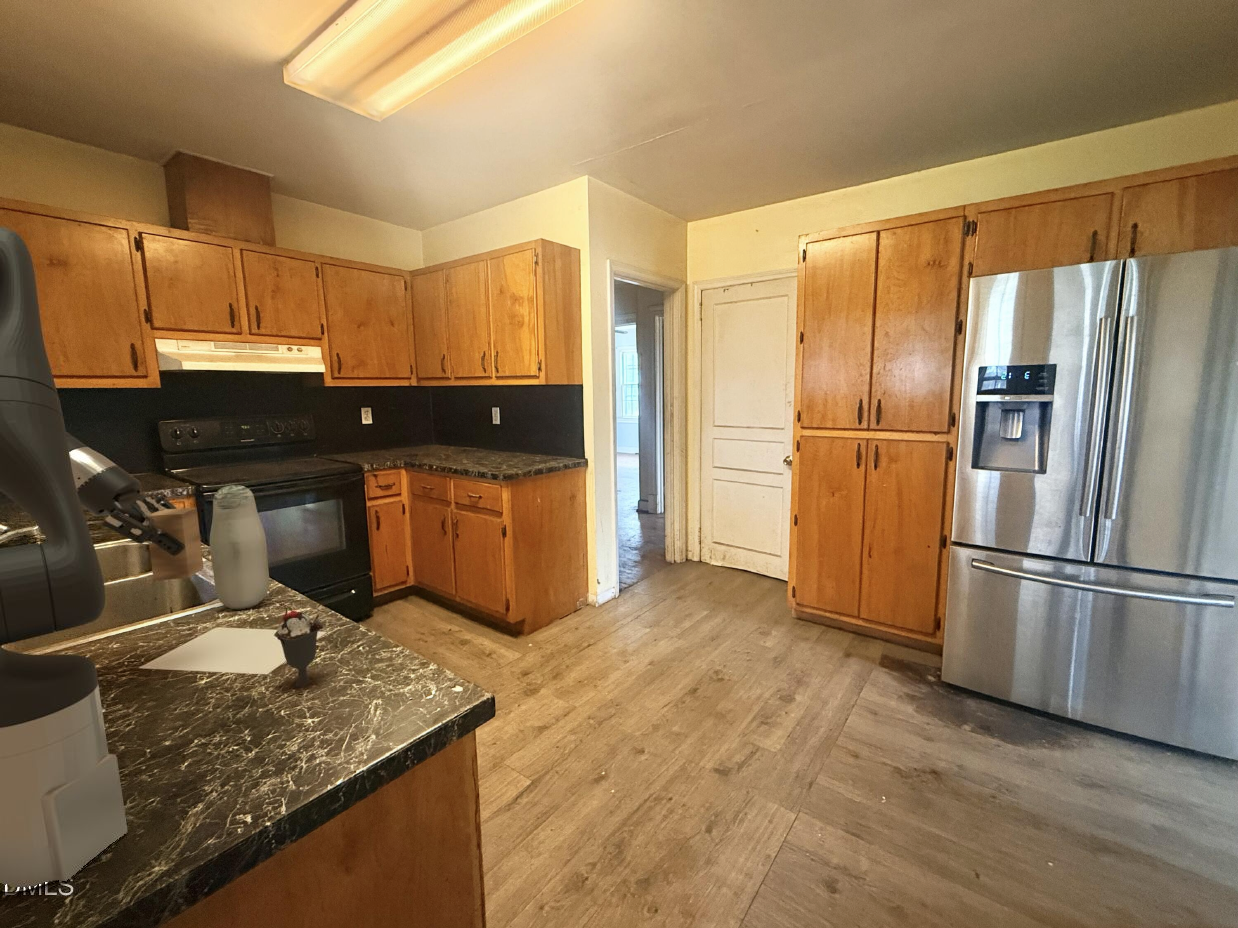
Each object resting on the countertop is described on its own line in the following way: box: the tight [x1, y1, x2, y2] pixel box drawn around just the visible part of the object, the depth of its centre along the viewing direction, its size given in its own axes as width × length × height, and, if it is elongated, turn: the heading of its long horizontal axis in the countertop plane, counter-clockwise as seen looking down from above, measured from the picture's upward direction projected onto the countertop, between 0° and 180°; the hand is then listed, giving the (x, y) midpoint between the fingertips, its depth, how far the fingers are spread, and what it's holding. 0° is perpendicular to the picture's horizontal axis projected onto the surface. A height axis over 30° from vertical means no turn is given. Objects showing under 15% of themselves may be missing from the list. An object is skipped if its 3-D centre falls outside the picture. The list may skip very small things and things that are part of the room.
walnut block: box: [148, 507, 204, 582], centre depth 90 cm, size 5×5×11 cm
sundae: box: [274, 602, 324, 697], centre depth 86 cm, size 7×7×15 cm
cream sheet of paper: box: [138, 626, 328, 675], centre depth 98 cm, size 24×16×1 cm, turn 85°
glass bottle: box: [209, 484, 270, 611], centre depth 118 cm, size 10×10×28 cm
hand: (189, 546), depth 90 cm, fingers closed on walnut block, 5 cm apart
